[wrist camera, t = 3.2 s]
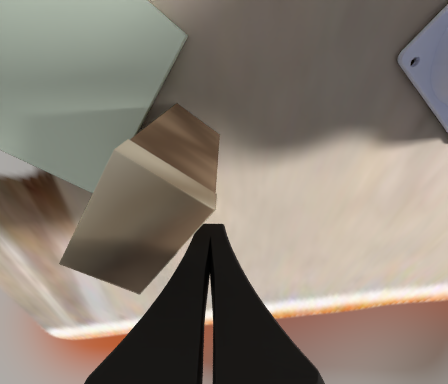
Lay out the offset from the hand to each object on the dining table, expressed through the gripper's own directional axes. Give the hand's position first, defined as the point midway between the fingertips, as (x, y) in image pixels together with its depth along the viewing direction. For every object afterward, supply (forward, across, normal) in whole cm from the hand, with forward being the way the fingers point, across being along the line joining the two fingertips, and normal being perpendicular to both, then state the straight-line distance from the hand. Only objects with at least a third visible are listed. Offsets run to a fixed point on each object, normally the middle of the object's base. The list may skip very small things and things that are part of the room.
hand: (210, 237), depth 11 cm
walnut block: (+7, +3, -2) cm, 8 cm away
